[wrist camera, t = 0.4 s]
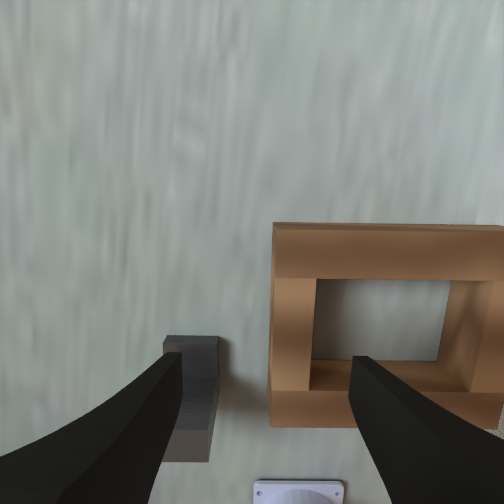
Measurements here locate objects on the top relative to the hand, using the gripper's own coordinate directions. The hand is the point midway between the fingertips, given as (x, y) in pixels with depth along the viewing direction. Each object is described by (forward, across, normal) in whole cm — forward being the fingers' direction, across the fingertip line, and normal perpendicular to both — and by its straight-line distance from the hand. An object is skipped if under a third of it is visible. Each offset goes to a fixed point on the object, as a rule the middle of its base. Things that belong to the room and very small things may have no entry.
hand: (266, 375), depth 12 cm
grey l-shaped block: (+10, +5, +6) cm, 13 cm away
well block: (+10, -9, +2) cm, 13 cm away
